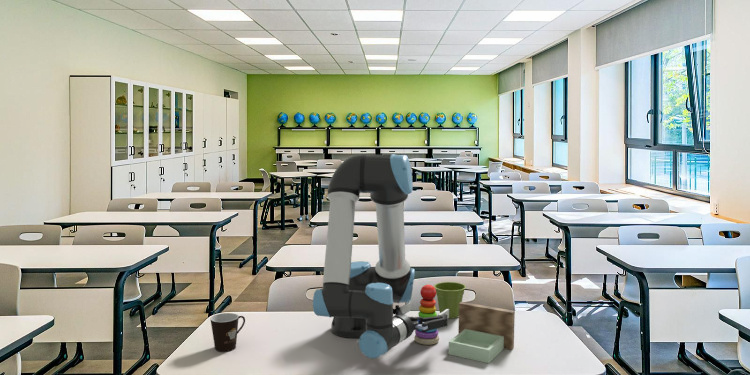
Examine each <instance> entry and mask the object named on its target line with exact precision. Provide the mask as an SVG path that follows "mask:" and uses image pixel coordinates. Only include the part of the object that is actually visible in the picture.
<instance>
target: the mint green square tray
mask: <svg viewBox="0 0 750 375" xmlns="http://www.w3.org/2000/svg"><path fill="white" fill-rule="evenodd" d="M504 349H505V348H504V336H499V335H494V334H489V333H484V332H479V331H474V330H469V329H464V330H463V331H462V332H460V333H459V334H456V335H455V336H454V337H453V338H451V339H450V340H448V355H451V356H455V357H459V358H462V359H463V358H464V359H467V360H473V361H477V362H482V363H486V364H490V363H491V362H492V361H493V360H494V359H495V358H496V357H497V356H498V355H499V354H501V352H502V351H503V350H504Z"/></svg>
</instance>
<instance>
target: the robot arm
mask: <svg viewBox="0 0 750 375" xmlns="http://www.w3.org/2000/svg"><path fill="white" fill-rule="evenodd" d="M413 187H414V185H413V173H412V167H411V162H410V160H409V158H408V157H407V156H406V155H402V154H401V155H400V154H394V153H393V154H392V153H391V154H354V155H352V156H350V157H348V158H346V159H345V160H343V161H342V162H341V163H340V164H339V165H338V167H337V168H336V169H335V170H334V173H333V174H332V175H331V178H330V180H329V184H328V188H327V193H326V194H327V195H326V197H327V199H328V200H329V212H328V221H327V233H326V245H325V255H324V265H323V277H322V288H318V289H316V290H315V291H314V293H313V298H312V310H313V312H314V314H315V315H316V316H317V317H326V318H327V317H328V318H332V321H331V333H333V335H335V336H338V337H341V338H348V339H349V338H351V339H353V338H359V339H358V348H359V349H360V351H361V354H363V355H364V356H365V357H367V358H369V359H377V358H379V357H380V356H383V355H385V354H386V353H387V352H389V351H391V350H392V348H394V347H396V346H397V345H399V344H400V343H402V342H403V341H405V340H407V339H409V337H411V336H412V334H413V333H414V332H415V330H417V329H422V332H427V331H429V330H433V329H437V328H438V329H441V328H445V327H448V319H450V318H449V309H446V310H445V311H443V312H441V313H440V312H439V314H438V313H437V316H434V317H426V318H422V317H419V316H408V315H406V314H408V313H409V312H410V311H412V301H411V300H412V296H413V288H414V282H415V281H414V280H415V273H416V272H415V271H416V270H415V268H412V267H411V264H410V263H409V261H407V259H406V245H405V244H406V242H405V240H406V239H405V214H404V211H405V210H404V202H406V201H407V199H408V198H409V195H410V194H412V193H413ZM360 194H369V195H370V196H369V197H370V201H372V202H373V203H374V204H375V213H376V228H377V244H378V246H377V247H378V258H379V259H378V261H377V262H376V264H375V266H372V265H371V263H370V261H365V260H364V261H362V260H361V261H352V256H353V244H354V243H353V240H354V227H355V226H354V225H355V215H356V214H355V213H356V203H357V202H358V201H360ZM401 303H402V304H403V303H404V304H403V305H401V306H400V305H398V304H401ZM394 304H396V305H395V306H394ZM394 307H395V308H394ZM418 320H419V322H418ZM438 329H437V330H438Z"/></svg>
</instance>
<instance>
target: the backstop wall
mask: <svg viewBox="0 0 750 375" xmlns="http://www.w3.org/2000/svg"><path fill="white" fill-rule="evenodd" d="M515 312H516V311H515V310H511V309H505V308H500V307H494V306H488V305H487V306H486V305H482V304H477V303H469V302H464V301H462V302H460V303H459V317H458V330H457V331H458V334H459V333H460V332H462V331H463V330H464V329H469V330H474V331H479V332H484V333H489V334H494V335H499V336H504V349H505V350H513V349H514V348H515V320H516V319H515V318H516V317H515ZM458 334H457V335H458Z"/></svg>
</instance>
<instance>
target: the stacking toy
mask: <svg viewBox="0 0 750 375" xmlns="http://www.w3.org/2000/svg"><path fill="white" fill-rule="evenodd" d="M419 294H420V297H421V298H422V299H421V300H420V301H419V304H420V305H419V308H418V310H419V311H418V314H417V315H418V317H422V318H426V317H434V316H438V313H437V312H436V311H437V308H436V304H437V302H436V300H435V298H436V297H437V294H436V289H435V288H434V285H431V284H425V285H423V286H422V287H421V289H420V293H419ZM418 322H419V320H418ZM438 329H439V328H437V329H433V330H429V331H427V332H422V329H417V330H414V333H415V335H414V336H413V337H414V341H415V342H416V343H417V344H420V345H424V346H425V345H427V346H431V345H435V344H437V343H438V342H439V341H440V338H439V330H438Z"/></svg>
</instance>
